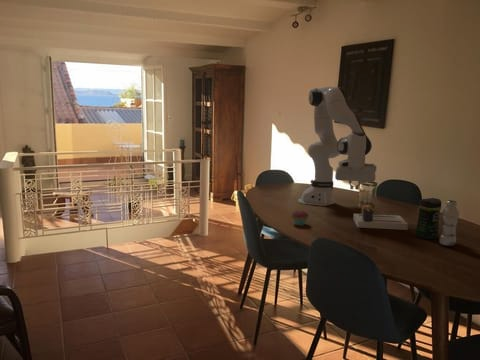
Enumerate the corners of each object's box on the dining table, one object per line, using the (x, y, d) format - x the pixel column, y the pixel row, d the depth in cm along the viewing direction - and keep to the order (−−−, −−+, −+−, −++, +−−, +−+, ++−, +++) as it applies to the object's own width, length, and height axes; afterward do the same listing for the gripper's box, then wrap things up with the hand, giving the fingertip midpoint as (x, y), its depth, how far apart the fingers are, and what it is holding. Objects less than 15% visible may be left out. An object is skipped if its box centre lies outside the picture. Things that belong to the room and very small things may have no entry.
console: (357, 227, 200) (358, 221, 199) (353, 218, 215) (353, 213, 215) (407, 229, 197) (408, 223, 196) (399, 221, 212) (399, 215, 212)
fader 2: (364, 220, 200) (364, 211, 199) (362, 218, 205) (363, 208, 204) (372, 221, 199) (373, 211, 198) (370, 218, 204) (371, 208, 203)
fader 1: (363, 216, 208) (363, 206, 208) (361, 213, 213) (362, 204, 212) (370, 216, 208) (371, 207, 207) (369, 214, 213) (369, 204, 212)
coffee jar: (427, 240, 180) (431, 201, 177) (412, 236, 187) (416, 197, 184) (441, 238, 185) (445, 199, 182) (426, 233, 192) (430, 195, 188)
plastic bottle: (435, 243, 178) (440, 199, 174) (449, 242, 178) (454, 199, 175) (443, 248, 171) (448, 202, 168) (458, 247, 172) (464, 202, 168)
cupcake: (309, 223, 206) (310, 200, 204) (306, 227, 198) (307, 204, 196) (292, 221, 209) (293, 199, 207) (289, 225, 201) (290, 202, 199)
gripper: (375, 163, 208) (373, 188, 211) (335, 161, 211) (334, 187, 213) (377, 164, 202) (375, 191, 205) (336, 163, 205) (335, 189, 207)
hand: (354, 189), depth 209 cm, fingers closed
